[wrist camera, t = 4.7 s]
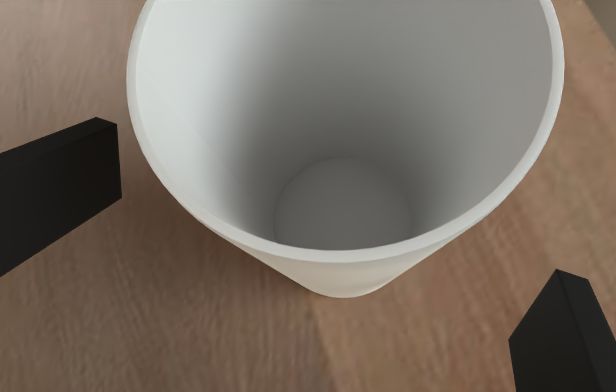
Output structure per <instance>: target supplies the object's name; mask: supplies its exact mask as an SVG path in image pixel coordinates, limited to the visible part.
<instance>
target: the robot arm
mask: <svg viewBox="0 0 616 392" xmlns="http://www.w3.org/2000/svg"><path fill="white" fill-rule="evenodd" d="M121 198H122V193H121V178H120V163H119V147H118V132H117V124H116V123H113V122H110V121H107V120H104V119H101V118H98V117H95V118H92V119H90V120H87V121H84V122H82V123H79V124H77V125H74V126H71V127H69V128H66V129H63V130H61V131H58V132H55V133H53V134H50V135H47V136H45V137H42V138H40V139H37V140H34V141H32V142H29V143H26V144H24V145H21V146H18V147H16V148H13V149H11V150H8V151H5V152H3V153H0V277H1V276H3V275H4V274H6V273H7V272H9V271H10V270H12V269H13V268H15V267H17V266H18V265H20V264H21V263H23V262H24V261H26V260H27V259H29V258H30V257H32V256H33V255H35V254H36V253H38V252H40V251H41V250H43V249H44V248H46V247H47V246H49V245H50V244H52V243H53V242H55V241H56V240H58V239H59V238H61V237H63V236H64V235H66V234H67V233H69V232H70V231H72V230H73V229H75V228H76V227H78V226H79V225H81V224H82V223H84V222H86V221H87V220H89V219H90V218H92V217H93V216H95V215H96V214H98V213H99V212H101V211H102V210H104V209H105V208H107V207H109V206H110V205H112V204H113V203H115V202H116V201H118V200H119V199H121ZM508 341H509V347H510V354H511V360H512V367H513V373H514V380H515V386H516V392H616V340H615V338H614V336H613V334H612V331H611V329H610V327H609V325H608V323H607V320H606V318H605V316H604V314H603V312H602V309H601V307H600V305H599V303H598V300H597V298H596V296H595V294H594V292H593V289H592V287H591V285H590V283H589V281H588V279H586V278H582V277H579V276H576V275H573V274H570V273H567V272H564V271H561V270H558V269H556V270H555V271H554V273H553V274H552V276H551V277H550V279H549V280H548V282H547V283H546V285H545V286H544V288H543V289H542V291H541V292H540V294H539V295H538V296H537V298H536V299H535V301H534V302H533V304H532V305H531V307H530V308H529V310H528V311H527V313H526V314H525V316H524V317H523V319H522V320H521V322H520V323H519V325H518V326H517V327H516V329H515V330H514V332H513V333H512V335H511V336H510V338H509V339H508Z"/></svg>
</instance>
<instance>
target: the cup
mask: <svg viewBox="0 0 616 392" xmlns="http://www.w3.org/2000/svg"><path fill="white" fill-rule="evenodd" d="M563 82H564V51H563V42H562V36H561V31H560V26H559V23H558V20H557V16H556V13H555V10H554V7H553V5H552V3H551V0H147V1H146V3H145V5H144V7H143V9H142V11H141V13H140V16H139V18H138V21H137V23H136V26H135V29H134V32H133V36H132V40H131V44H130V48H129V55H128V61H127V75H126V86H127V101H128V106H129V112H130V118H131V121H132V125H133V128H134V132H135V135H136V137H137V140H138V142H139V145H140V147H141V149H142V152H143V154H144V155H145V157H146V159H147V161H148V163H149V164H150V166H151V168H152V170H153V171H154V173H155V174H156V175H157V177H158V178H159V179H160V181H161V182H162V184H163V185H164V186H165V187H166V189H167V190H168V191H169V192H170V193H171V194H172V195H173V196H174V197H175V198H176V200H177V201H178V202H179V203H180V204H181V205H182V206H183V207H184V208H185V209H186V210H187V211H188V212H189V213H190V214H192V215H193V216H194V217H195V218H196V219H197V220H198V221H199V222H201V223H202V224H204V225H205V226H206V227H208V228H209V229H211V230H212V231H213V232H215V233H216V234H218V235H219V236H221V237H223V238H224V239H226V240H227V241H229V242H231V243H232V244H234V245H236V246H237V247H239V248H240V249H242V250H244V251H245V252H247V253H249V254H250V255H252V256H254V257H255V258H257V259H259V260H260V261H262V262H264V263H265V264H267V265H269V266H270V267H272V268H274V269H275V270H277V271H279V272H280V273H282V274H284V275H285V276H287V277H289V278H290V279H292V280H294V281H295V282H297V283H299V284H300V285H302V286H304V287H305V288H307V289H309V290H311V291H313V292H315V293H318V294H321V295H325V296H329V297H336V298H349V297H357V296H362V295H365V294H368V293H370V292H373V291H375V290H377V289H379V288H381V287H382V286H384V285H385V284H387V283H388V282H390V281H391V280H393V279H394V278H396V277H397V276H399V275H400V274H402V273H403V272H405V271H406V270H408V269H409V268H411V267H412V266H414V265H415V264H417V263H419V262H420V261H422V260H423V259H425V258H426V257H428V256H429V255H431V254H432V253H434V252H435V251H436V250H438V249H439V248H441V247H442V246H444V245H445V244H447V243H448V242H450V241H451V240H453V239H454V238H456V237H457V236H459V235H460V234H462V233H463V232H464V231H466V230H467V229H469V228H470V227H472V226H473V225H475V224H476V223H478V222H479V221H481V220H482V219H483V218H484V217H485V216H486V215H488V214H489V213H490V212H491V211H492V210H493V209H495V208H496V207H497V206H498V205H499V204H500V203H501V202H502V201H503V200H504V199H505V198H506V197H507V196H508V195H509V193H510V192H511V191H512V190H513V189H514V188H515V187H516V186H517V185H518V183H519V182H520V181H521V180H522V178H523V177H524V176H525V174H526V173H527V172H528V170H529V169H530V168H531V166H532V165H533V164H534V162H535V160H536V159H537V157H538V155H539V154H540V152H541V150H542V149H543V147H544V145H545V143H546V141H547V139H548V136H549V134H550V132H551V130H552V127H553V125H554V122H555V119H556V115H557V112H558V109H559V106H560V101H561V95H562V89H563Z"/></svg>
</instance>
